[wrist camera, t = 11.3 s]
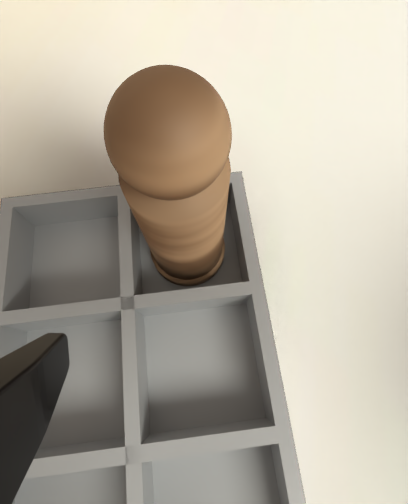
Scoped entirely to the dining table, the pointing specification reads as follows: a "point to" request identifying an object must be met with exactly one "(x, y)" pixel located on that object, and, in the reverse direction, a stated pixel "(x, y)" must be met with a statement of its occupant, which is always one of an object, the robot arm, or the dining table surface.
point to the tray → (146, 359)
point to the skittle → (173, 167)
